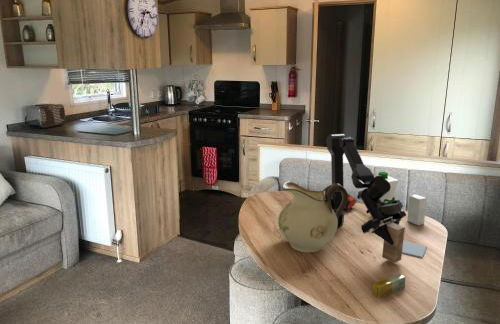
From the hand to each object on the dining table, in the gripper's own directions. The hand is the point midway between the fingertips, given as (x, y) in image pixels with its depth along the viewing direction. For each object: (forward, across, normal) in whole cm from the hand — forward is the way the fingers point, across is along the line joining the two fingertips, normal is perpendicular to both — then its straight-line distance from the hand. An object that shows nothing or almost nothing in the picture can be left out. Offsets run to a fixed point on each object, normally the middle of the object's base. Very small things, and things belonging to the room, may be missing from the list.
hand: (396, 243), depth 137 cm
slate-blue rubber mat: (+3, +14, +8) cm, 17 cm away
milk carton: (-16, +33, +27) cm, 46 cm away
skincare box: (-6, +39, +18) cm, 43 cm away
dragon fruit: (-27, +26, +39) cm, 54 cm away
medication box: (+12, -16, -1) cm, 20 cm away
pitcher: (-14, -15, +26) cm, 33 cm away
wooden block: (+4, 0, +6) cm, 7 cm away
